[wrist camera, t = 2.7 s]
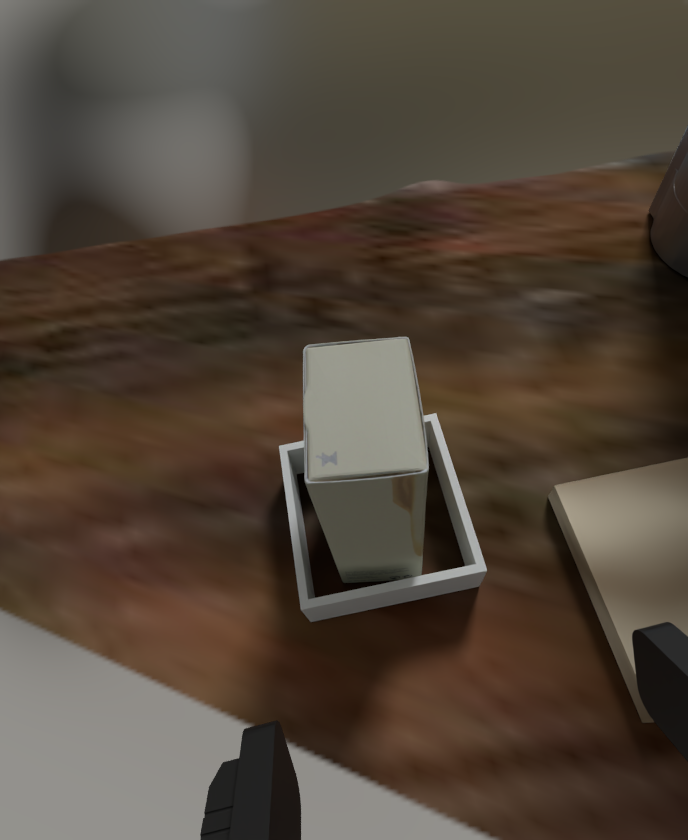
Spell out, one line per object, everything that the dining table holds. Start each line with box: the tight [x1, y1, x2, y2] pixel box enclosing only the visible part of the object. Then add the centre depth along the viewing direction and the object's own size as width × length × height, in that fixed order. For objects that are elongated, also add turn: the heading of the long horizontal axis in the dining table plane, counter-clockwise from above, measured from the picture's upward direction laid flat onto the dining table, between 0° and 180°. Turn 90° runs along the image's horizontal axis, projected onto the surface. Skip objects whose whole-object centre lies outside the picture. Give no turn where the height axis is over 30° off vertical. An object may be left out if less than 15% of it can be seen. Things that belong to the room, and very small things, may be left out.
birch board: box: [548, 458, 688, 723], centre depth 26 cm, size 11×9×2 cm
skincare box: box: [303, 337, 429, 583], centre depth 24 cm, size 6×4×12 cm
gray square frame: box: [279, 413, 487, 622], centre depth 28 cm, size 9×9×3 cm
